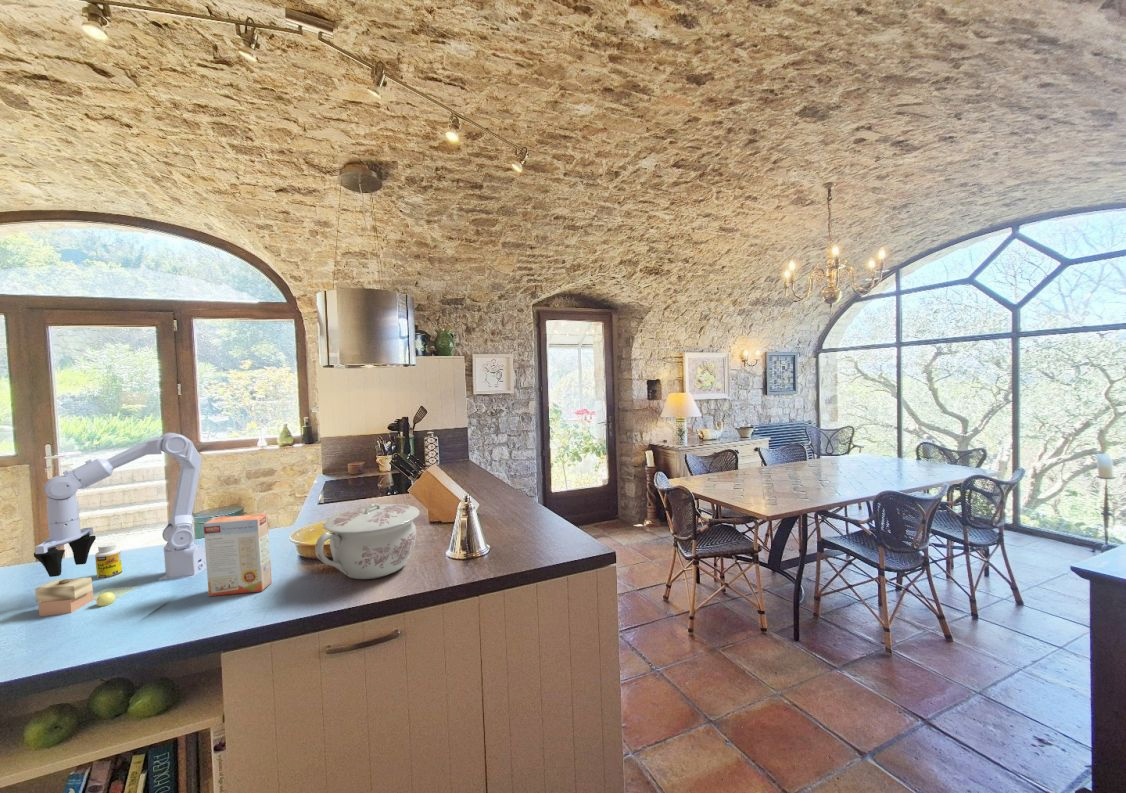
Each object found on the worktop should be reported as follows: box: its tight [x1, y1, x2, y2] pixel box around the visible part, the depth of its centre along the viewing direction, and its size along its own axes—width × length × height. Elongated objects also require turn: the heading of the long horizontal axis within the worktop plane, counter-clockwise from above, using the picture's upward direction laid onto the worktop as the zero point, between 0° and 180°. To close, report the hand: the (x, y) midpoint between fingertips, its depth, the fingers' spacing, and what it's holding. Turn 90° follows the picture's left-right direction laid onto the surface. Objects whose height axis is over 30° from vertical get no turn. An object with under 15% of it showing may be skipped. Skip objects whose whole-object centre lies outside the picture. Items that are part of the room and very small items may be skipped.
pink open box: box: [37, 587, 94, 617], centre depth 121 cm, size 7×7×4 cm
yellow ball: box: [95, 592, 116, 607], centre depth 123 cm, size 4×4×4 cm
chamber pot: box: [314, 502, 421, 580], centre depth 140 cm, size 28×28×21 cm
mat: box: [93, 585, 139, 601], centre depth 129 cm, size 9×7×1 cm
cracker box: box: [203, 513, 273, 597], centre depth 130 cm, size 14×6×21 cm, turn 97°
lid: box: [34, 577, 94, 603], centre depth 121 cm, size 9×5×4 cm, turn 96°
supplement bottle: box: [94, 542, 123, 580], centre depth 142 cm, size 6×6×10 cm
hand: (68, 569), depth 124 cm, fingers open, 7 cm apart
